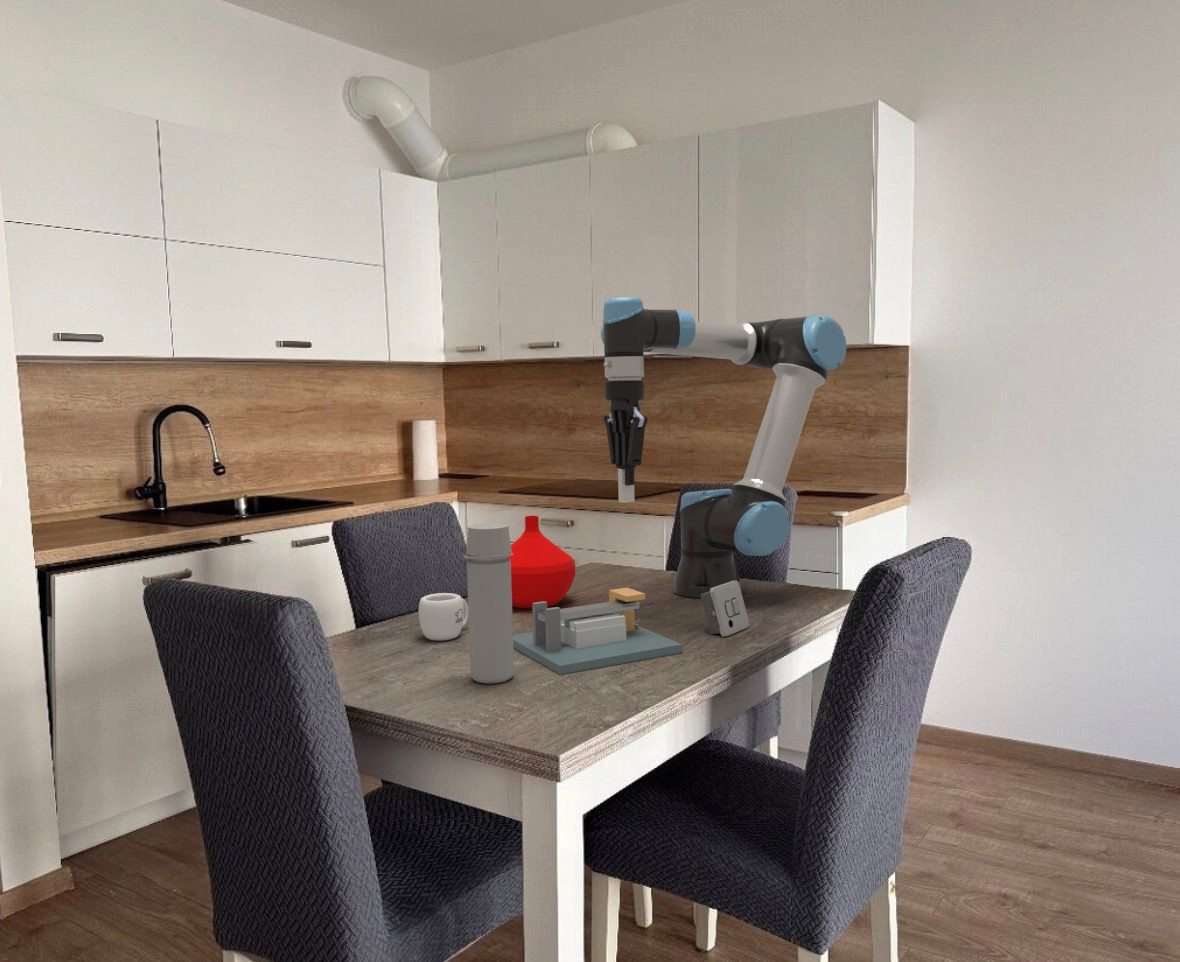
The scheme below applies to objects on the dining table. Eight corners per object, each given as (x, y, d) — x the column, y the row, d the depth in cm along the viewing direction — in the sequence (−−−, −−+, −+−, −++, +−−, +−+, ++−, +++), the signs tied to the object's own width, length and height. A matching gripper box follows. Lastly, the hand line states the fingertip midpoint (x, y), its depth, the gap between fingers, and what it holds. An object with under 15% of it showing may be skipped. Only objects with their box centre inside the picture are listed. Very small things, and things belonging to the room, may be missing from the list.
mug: (444, 645, 177) (443, 603, 176) (410, 640, 181) (408, 599, 180) (485, 630, 187) (484, 591, 186) (451, 625, 191) (450, 587, 190)
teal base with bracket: (619, 626, 188) (619, 580, 187) (682, 652, 169) (681, 602, 168) (506, 644, 177) (505, 595, 176) (559, 674, 157) (558, 620, 156)
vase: (585, 609, 202) (583, 519, 200) (498, 616, 198) (495, 524, 196) (565, 591, 220) (563, 509, 218) (486, 598, 215) (483, 513, 214)
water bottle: (521, 682, 154) (516, 527, 151) (472, 687, 152) (467, 531, 149) (509, 666, 163) (505, 520, 160) (463, 671, 160) (457, 523, 158)
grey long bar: (630, 605, 178) (630, 598, 177) (639, 608, 175) (639, 601, 175) (537, 619, 169) (537, 612, 169) (545, 622, 166) (544, 615, 166)
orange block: (628, 627, 181) (627, 587, 180) (645, 634, 175) (645, 593, 175) (609, 630, 179) (608, 590, 178) (627, 637, 174) (626, 596, 173)
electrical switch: (725, 638, 177) (720, 588, 177) (701, 637, 181) (697, 588, 180) (750, 628, 185) (746, 580, 184) (727, 626, 188) (723, 579, 188)
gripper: (590, 380, 188) (593, 500, 190) (624, 379, 176) (626, 506, 179) (624, 379, 191) (626, 497, 194) (659, 378, 180) (660, 503, 182)
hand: (626, 501), depth 186 cm, fingers closed
